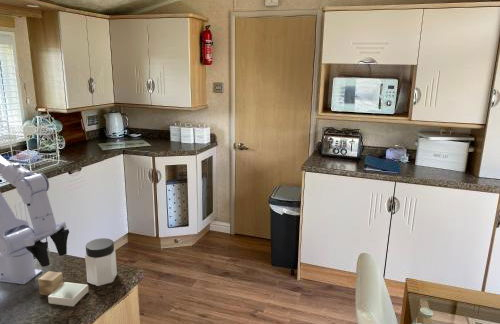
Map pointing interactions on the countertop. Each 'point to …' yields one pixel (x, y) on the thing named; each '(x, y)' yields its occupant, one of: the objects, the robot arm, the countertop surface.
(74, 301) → the tile base
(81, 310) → the countertop surface
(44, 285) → the oak block
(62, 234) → the robot arm
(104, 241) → the jar
